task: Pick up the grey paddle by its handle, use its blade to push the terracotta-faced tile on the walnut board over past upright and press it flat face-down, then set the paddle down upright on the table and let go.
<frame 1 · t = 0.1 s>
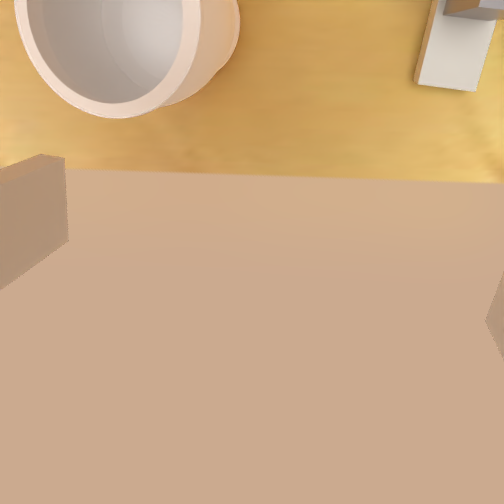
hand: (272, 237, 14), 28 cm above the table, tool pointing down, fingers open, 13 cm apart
jar: (190, 23, 38), on the table
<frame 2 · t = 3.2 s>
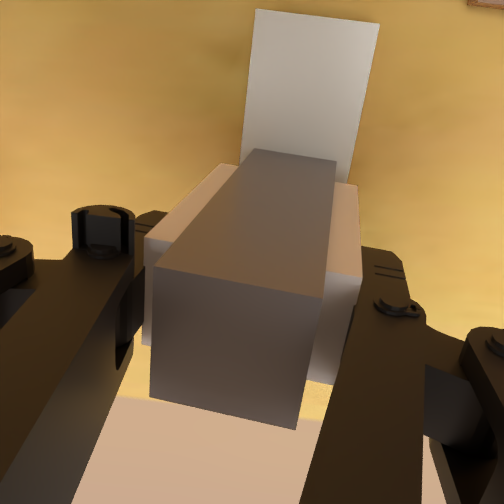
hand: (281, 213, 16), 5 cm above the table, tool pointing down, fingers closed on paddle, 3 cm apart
paddle: (296, 173, 21), on the table, touching gripper
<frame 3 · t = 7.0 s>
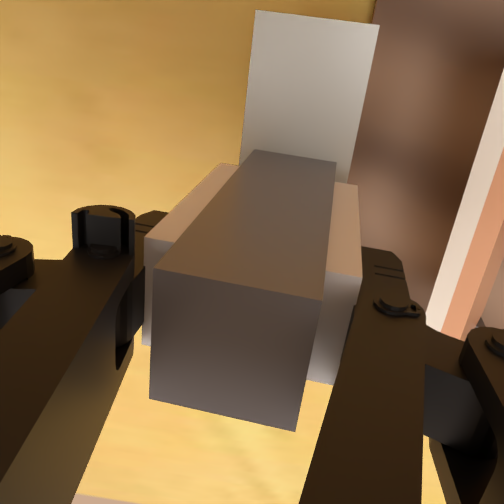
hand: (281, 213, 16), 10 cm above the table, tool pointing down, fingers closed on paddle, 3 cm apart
tile: (493, 213, 19), point 6 cm above the table, hinge at 65.0°
paddle: (296, 174, 21), point 5 cm above the table, touching gripper
board: (494, 180, 24), on the table
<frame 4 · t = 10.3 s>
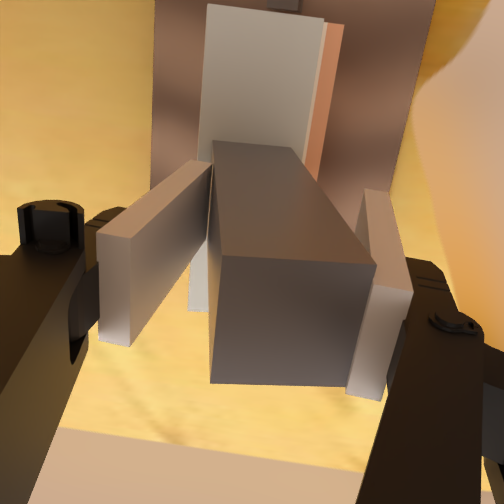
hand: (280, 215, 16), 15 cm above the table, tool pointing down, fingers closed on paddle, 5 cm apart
tile: (284, 151, 24), point 6 cm above the table, hinge at 112.4°, touching paddle
paddle: (242, 162, 21), point 9 cm above the table, tilted 17°, touching gripper, tile
board: (275, 128, 30), on the table
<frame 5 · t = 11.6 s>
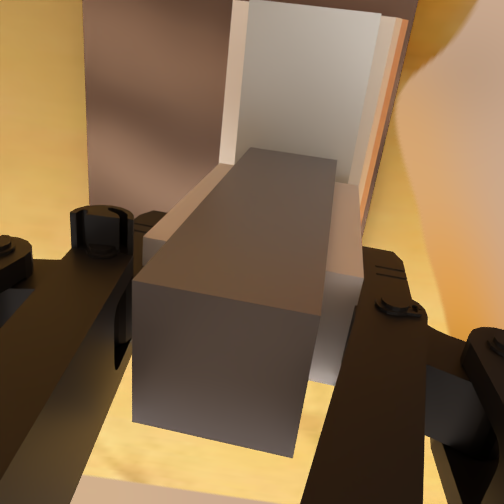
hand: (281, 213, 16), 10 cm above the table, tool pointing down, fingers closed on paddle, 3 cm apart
tile: (292, 159, 21), point 4 cm above the table, hinge at 155.9°, touching paddle
paddle: (295, 173, 20), point 6 cm above the table, touching gripper, tile
board: (234, 131, 25), on the table
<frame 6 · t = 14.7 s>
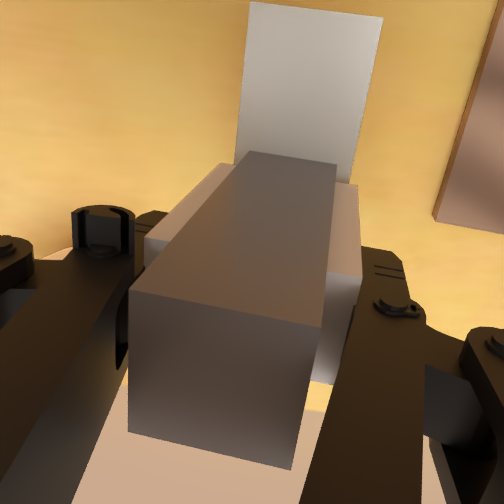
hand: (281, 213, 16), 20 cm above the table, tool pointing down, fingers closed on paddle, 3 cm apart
paddle: (295, 176, 20), point 16 cm above the table, touching gripper
when the fingers open (6 cm above the table, at t = 17.7 s): paddle drops 2 cm, on the table.
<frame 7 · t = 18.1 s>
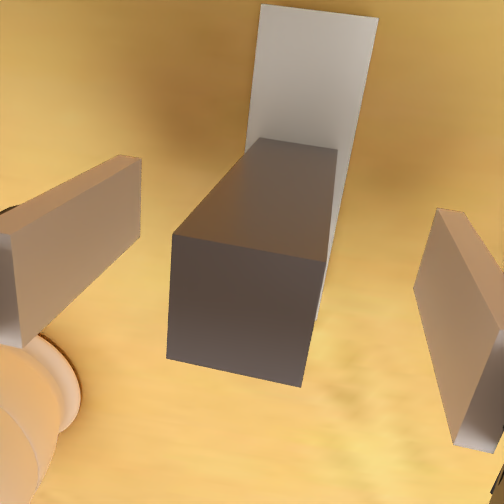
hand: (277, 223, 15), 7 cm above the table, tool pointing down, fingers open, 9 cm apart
paddle: (299, 163, 21), on the table
jar: (23, 376, 30), on the table
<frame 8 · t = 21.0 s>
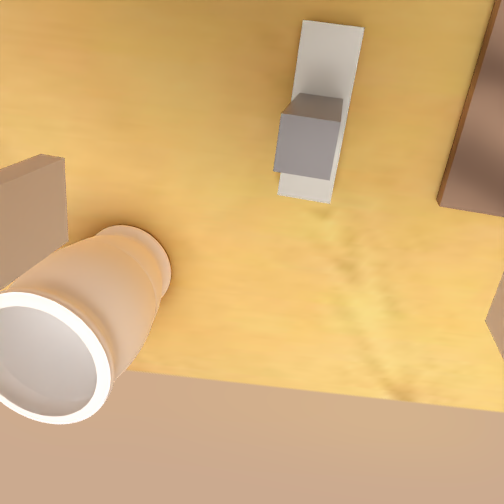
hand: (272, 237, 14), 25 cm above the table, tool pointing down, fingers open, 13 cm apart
paddle: (319, 112, 36), on the table
jar: (130, 265, 45), on the table
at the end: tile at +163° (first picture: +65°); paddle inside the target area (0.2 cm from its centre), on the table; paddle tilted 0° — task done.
